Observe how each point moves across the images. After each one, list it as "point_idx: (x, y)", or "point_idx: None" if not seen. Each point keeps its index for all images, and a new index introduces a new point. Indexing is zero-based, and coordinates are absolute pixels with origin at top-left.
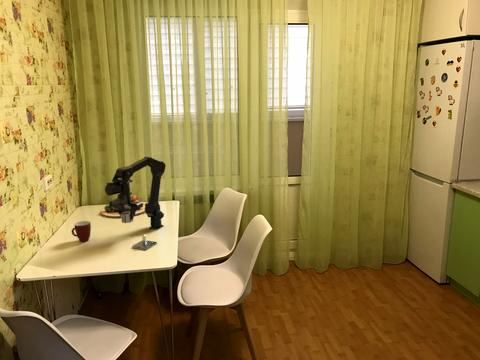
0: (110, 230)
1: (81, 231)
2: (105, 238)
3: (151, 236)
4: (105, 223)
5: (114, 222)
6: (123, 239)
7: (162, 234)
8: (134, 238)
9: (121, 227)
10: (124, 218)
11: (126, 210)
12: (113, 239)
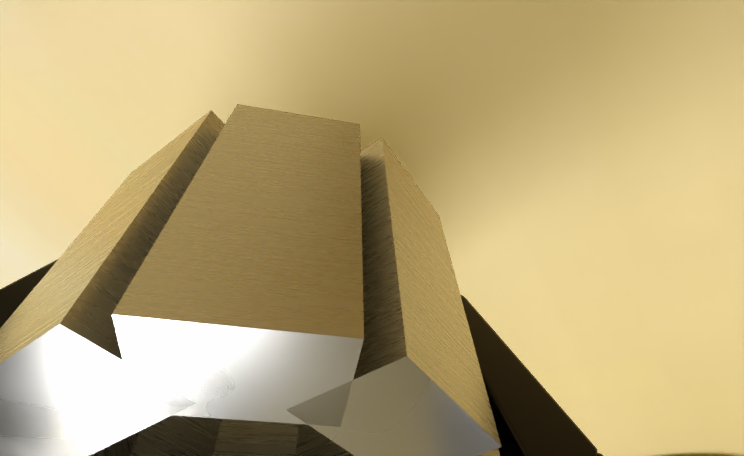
0: (654, 269)
1: None
2: (672, 23)
3: (75, 195)
4: (734, 385)
5: (653, 408)
6: (377, 32)
7: (7, 263)
8: (240, 98)
9: (556, 341)
10: (210, 189)
11: None
12: (533, 4)
